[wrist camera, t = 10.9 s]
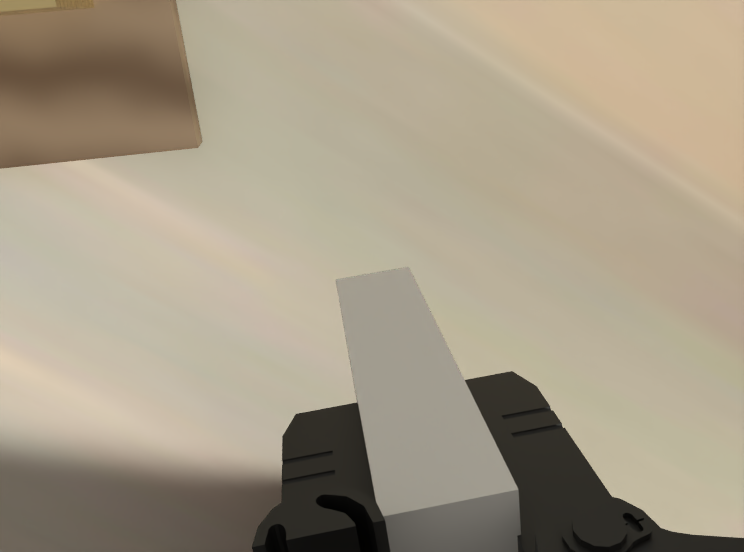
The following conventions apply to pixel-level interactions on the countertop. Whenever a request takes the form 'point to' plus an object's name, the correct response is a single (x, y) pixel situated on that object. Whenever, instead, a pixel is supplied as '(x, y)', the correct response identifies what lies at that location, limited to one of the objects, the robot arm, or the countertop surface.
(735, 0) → the countertop surface
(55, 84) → the mounting board
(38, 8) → the valve pipe
